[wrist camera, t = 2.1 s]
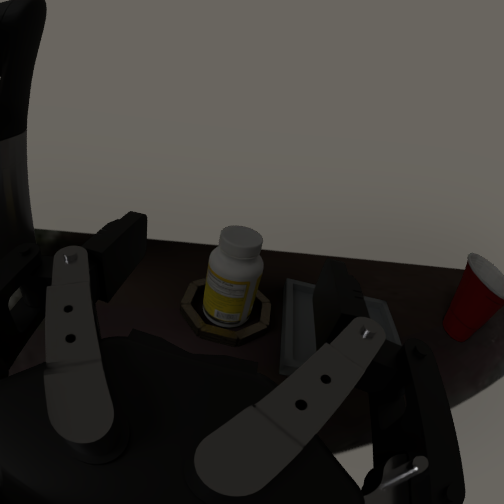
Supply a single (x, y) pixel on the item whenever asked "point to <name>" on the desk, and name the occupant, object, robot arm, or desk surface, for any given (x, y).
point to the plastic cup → (474, 298)
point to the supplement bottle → (233, 276)
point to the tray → (303, 329)
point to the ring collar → (219, 333)
